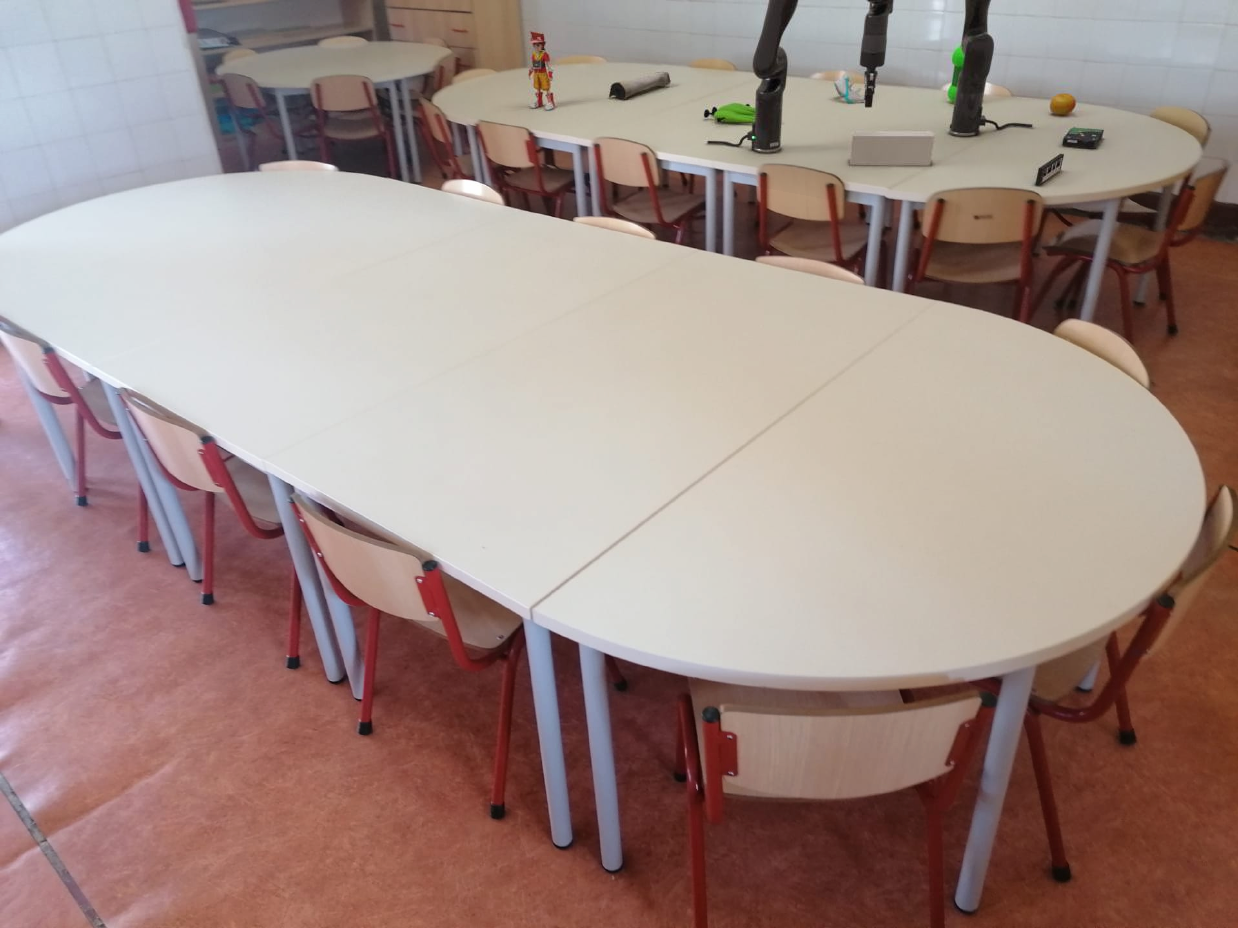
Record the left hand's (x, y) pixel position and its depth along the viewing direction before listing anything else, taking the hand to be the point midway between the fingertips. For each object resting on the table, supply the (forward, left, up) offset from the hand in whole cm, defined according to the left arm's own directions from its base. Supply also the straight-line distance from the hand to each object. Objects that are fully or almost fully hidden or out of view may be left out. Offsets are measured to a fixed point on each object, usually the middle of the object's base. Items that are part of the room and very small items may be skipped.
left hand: (867, 104), depth 287 cm
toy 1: (-151, +16, -18) cm, 153 cm away
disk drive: (+57, +52, -18) cm, 79 cm away
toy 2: (-62, +32, -18) cm, 72 cm away
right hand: (-9, +27, +10) cm, 30 cm away
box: (+8, +4, -18) cm, 20 cm away
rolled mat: (-127, +55, -18) cm, 140 cm away
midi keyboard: (+57, +9, -18) cm, 60 cm away
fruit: (+41, +86, -18) cm, 97 cm away
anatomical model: (-39, +77, -18) cm, 89 cm away
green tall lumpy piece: (+3, +89, -18) cm, 91 cm away
